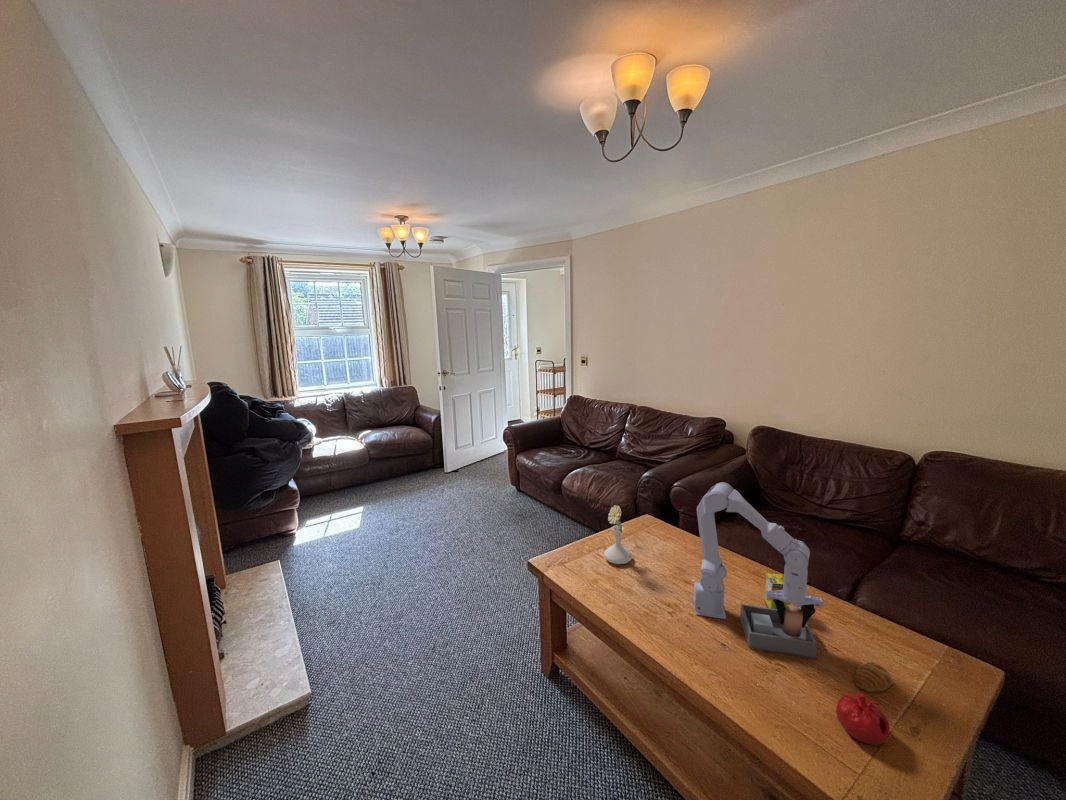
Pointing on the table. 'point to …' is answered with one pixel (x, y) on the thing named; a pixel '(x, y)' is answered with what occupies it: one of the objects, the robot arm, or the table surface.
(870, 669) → the pastry
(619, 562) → the flower in vase
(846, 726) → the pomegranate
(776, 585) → the supplement box
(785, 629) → the tan rounded cylinder
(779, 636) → the charcoal tote
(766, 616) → the slate-blue block
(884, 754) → the table surface
